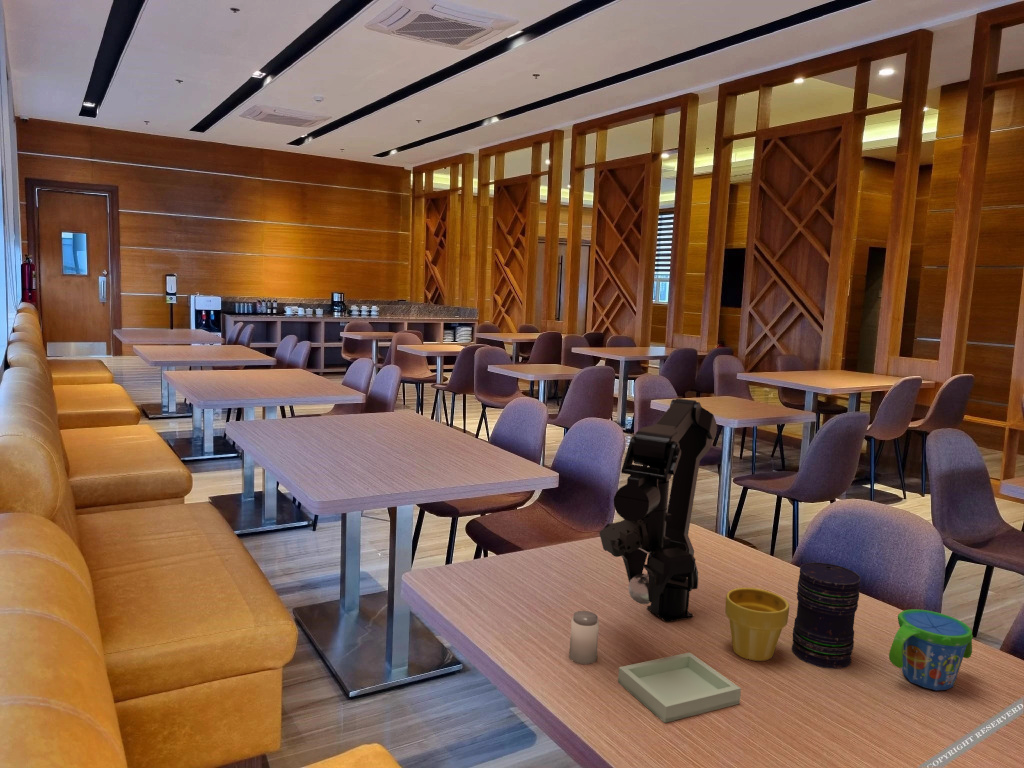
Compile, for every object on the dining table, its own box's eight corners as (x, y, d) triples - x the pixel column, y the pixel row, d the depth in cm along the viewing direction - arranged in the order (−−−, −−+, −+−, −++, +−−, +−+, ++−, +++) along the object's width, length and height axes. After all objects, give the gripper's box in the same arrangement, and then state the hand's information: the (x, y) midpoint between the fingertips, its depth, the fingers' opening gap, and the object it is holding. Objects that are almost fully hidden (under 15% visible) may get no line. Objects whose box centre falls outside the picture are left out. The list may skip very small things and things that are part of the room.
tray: (688, 666, 125) (689, 652, 125) (739, 703, 114) (740, 688, 114) (617, 682, 119) (619, 667, 119) (664, 723, 108) (666, 706, 108)
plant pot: (752, 672, 124) (757, 615, 123) (709, 644, 133) (713, 591, 132) (797, 660, 129) (802, 606, 128) (752, 634, 138) (757, 583, 137)
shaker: (587, 648, 130) (590, 608, 129) (601, 661, 125) (604, 619, 125) (564, 653, 128) (566, 612, 127) (578, 666, 123) (580, 623, 123)
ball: (645, 595, 131) (647, 567, 131) (663, 606, 127) (665, 577, 126) (621, 599, 129) (623, 570, 128) (638, 610, 124) (640, 581, 124)
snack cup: (942, 661, 131) (949, 606, 130) (993, 694, 121) (1001, 634, 120) (864, 667, 128) (871, 610, 126) (910, 701, 118) (918, 639, 116)
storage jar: (854, 674, 125) (864, 588, 123) (791, 662, 128) (800, 578, 126) (848, 647, 135) (857, 567, 133) (790, 637, 138) (798, 559, 136)
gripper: (579, 494, 130) (573, 581, 132) (643, 527, 114) (635, 625, 116) (632, 490, 135) (626, 573, 137) (701, 521, 119) (693, 615, 121)
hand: (642, 595), depth 128 cm, fingers closed on ball, 5 cm apart
